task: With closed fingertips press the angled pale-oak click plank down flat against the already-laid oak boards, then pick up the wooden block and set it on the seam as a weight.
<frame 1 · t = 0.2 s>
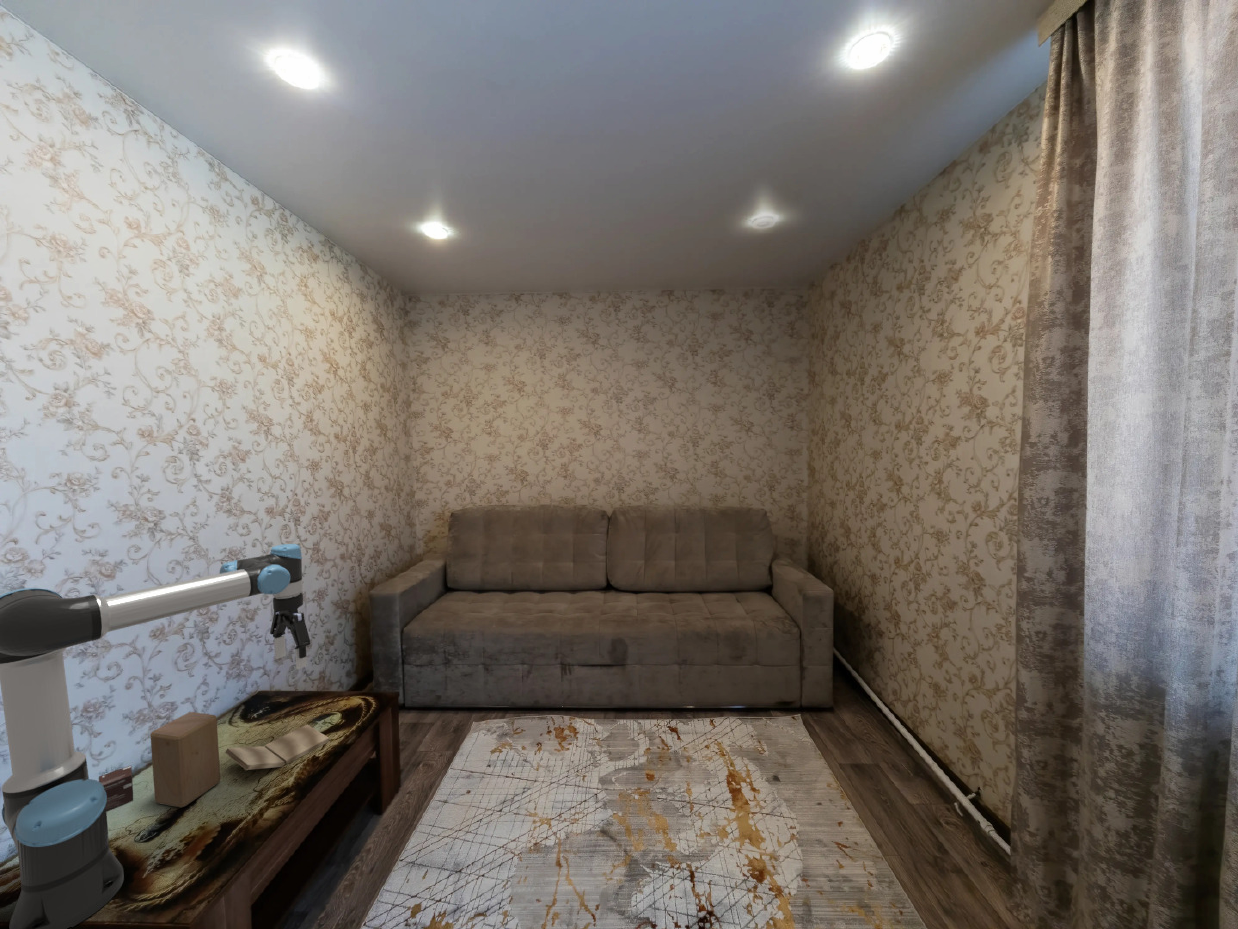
hand: (290, 662, 141), 28 cm above the table, fingers open, 13 cm apart
click plank: (255, 757, 135), point 3 cm above the table, hinge at 28.0°
laid boards: (297, 745, 145), on the table
box: (117, 802, 123), on the table
wooden block: (188, 793, 125), on the table
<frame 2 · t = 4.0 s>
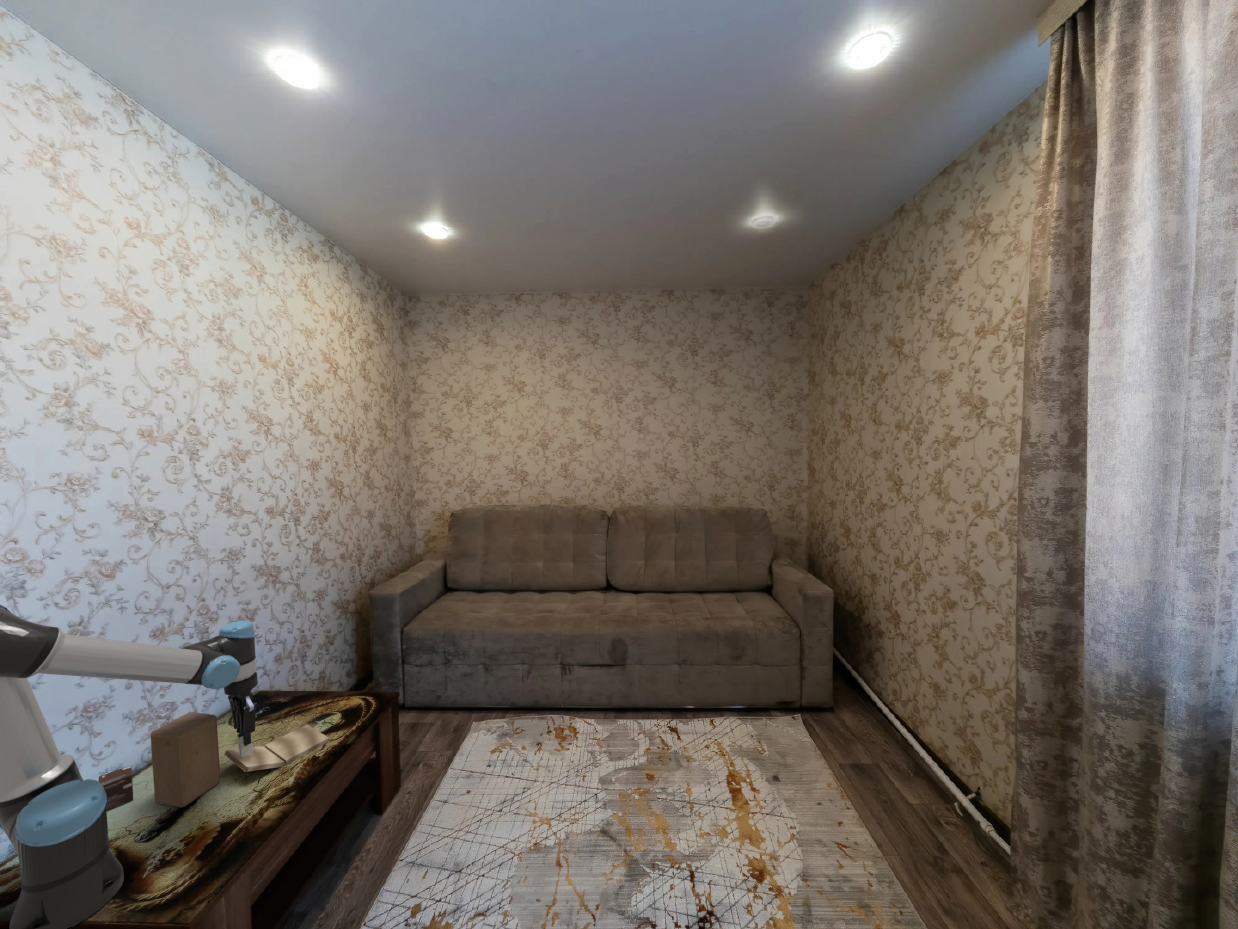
hand: (246, 754, 133), 5 cm above the table, fingers closed
click plank: (254, 758, 135), point 3 cm above the table, hinge at 25.3°, touching gripper
everything else where it was.
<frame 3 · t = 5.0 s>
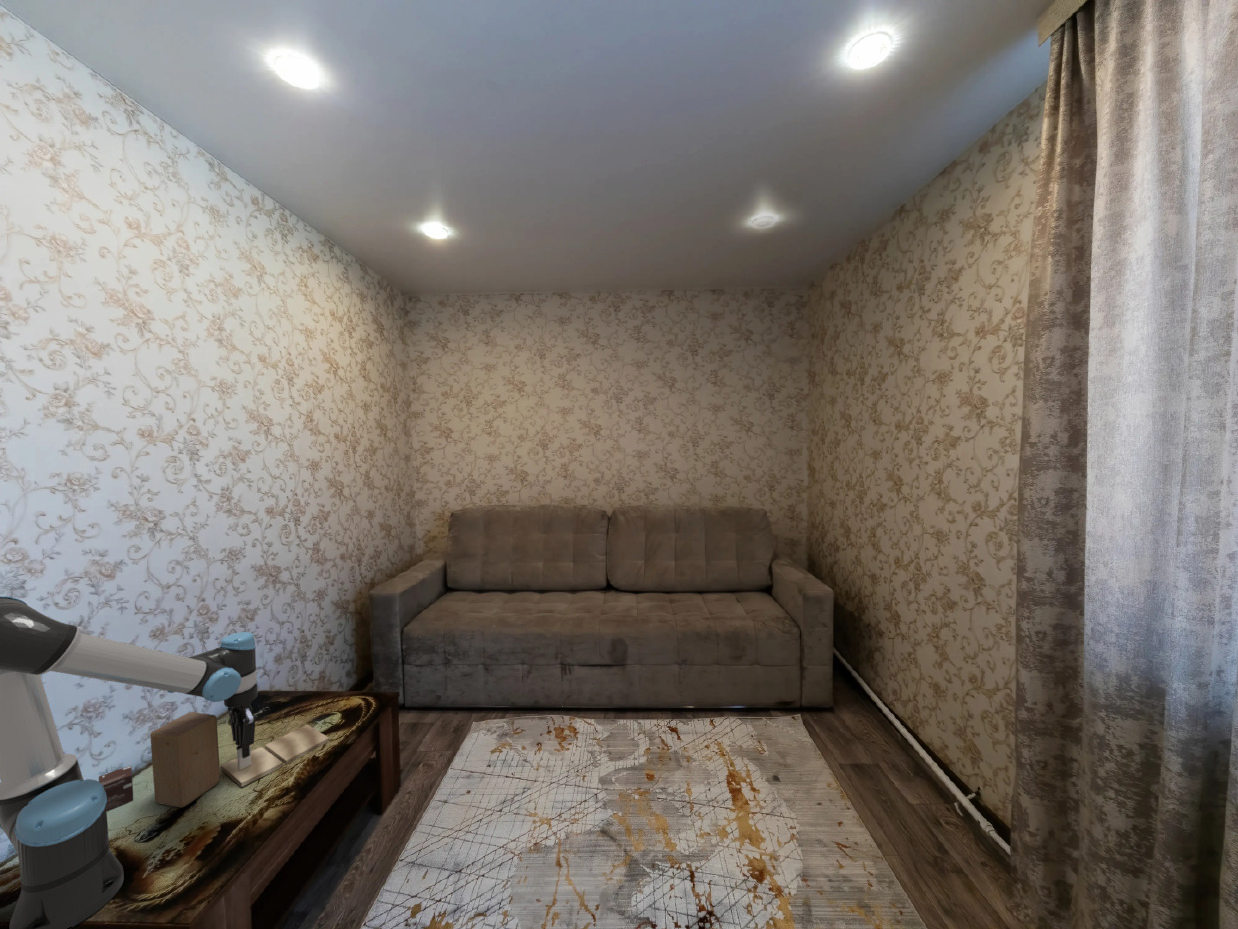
hand: (244, 766, 133), 2 cm above the table, fingers closed
click plank: (252, 765, 134), point 1 cm above the table, hinge at 2.6°, touching gripper
everything else where it was.
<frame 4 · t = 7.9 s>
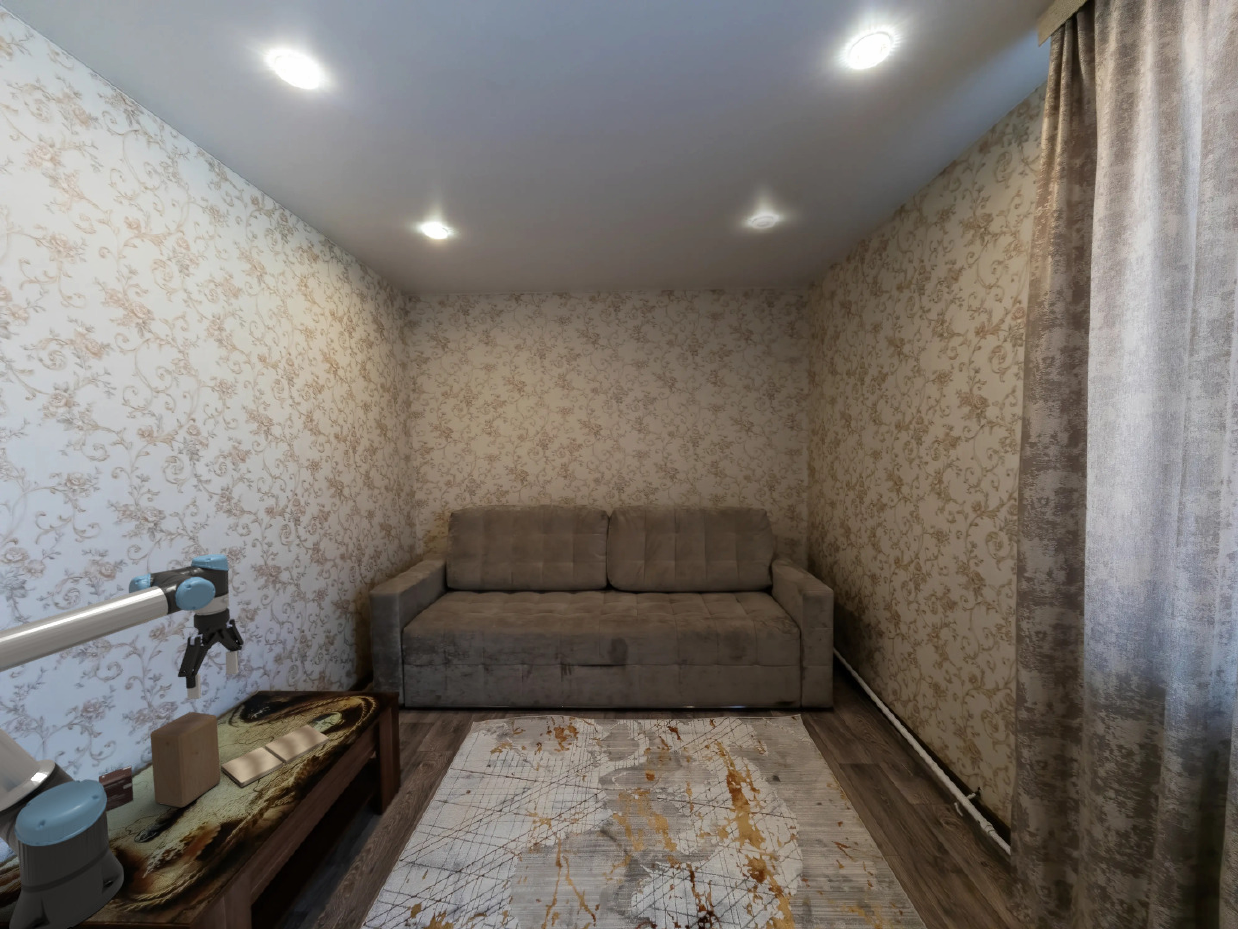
hand: (214, 685, 128), 28 cm above the table, fingers open, 13 cm apart
click plank: (252, 765, 134), point 1 cm above the table, hinge at 2.6°
everything else where it was.
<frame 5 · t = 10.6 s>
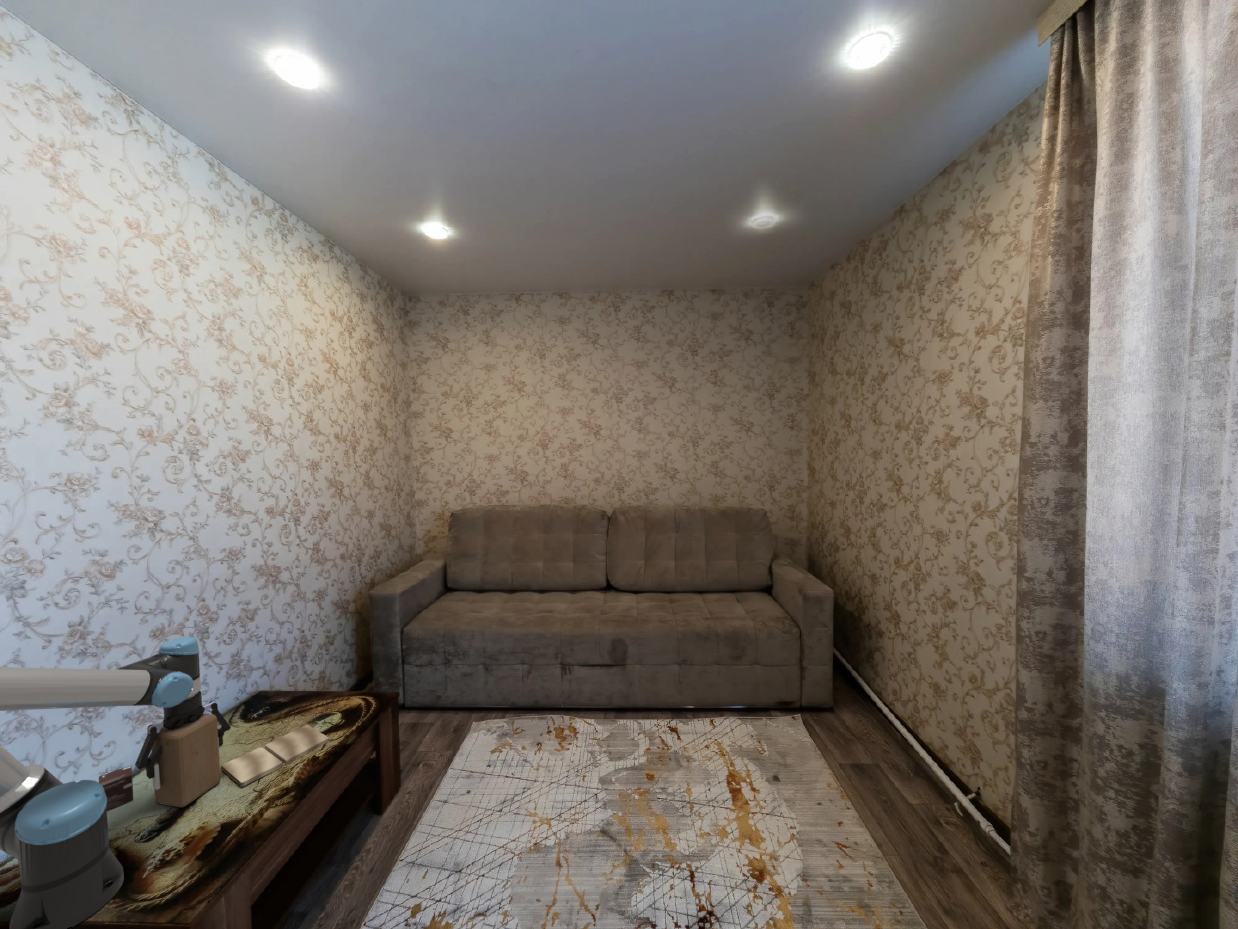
hand: (187, 772, 125), 6 cm above the table, fingers closed on wooden block, 12 cm apart
wooden block: (189, 793, 125), on the table, touching gripper
everything else where it was.
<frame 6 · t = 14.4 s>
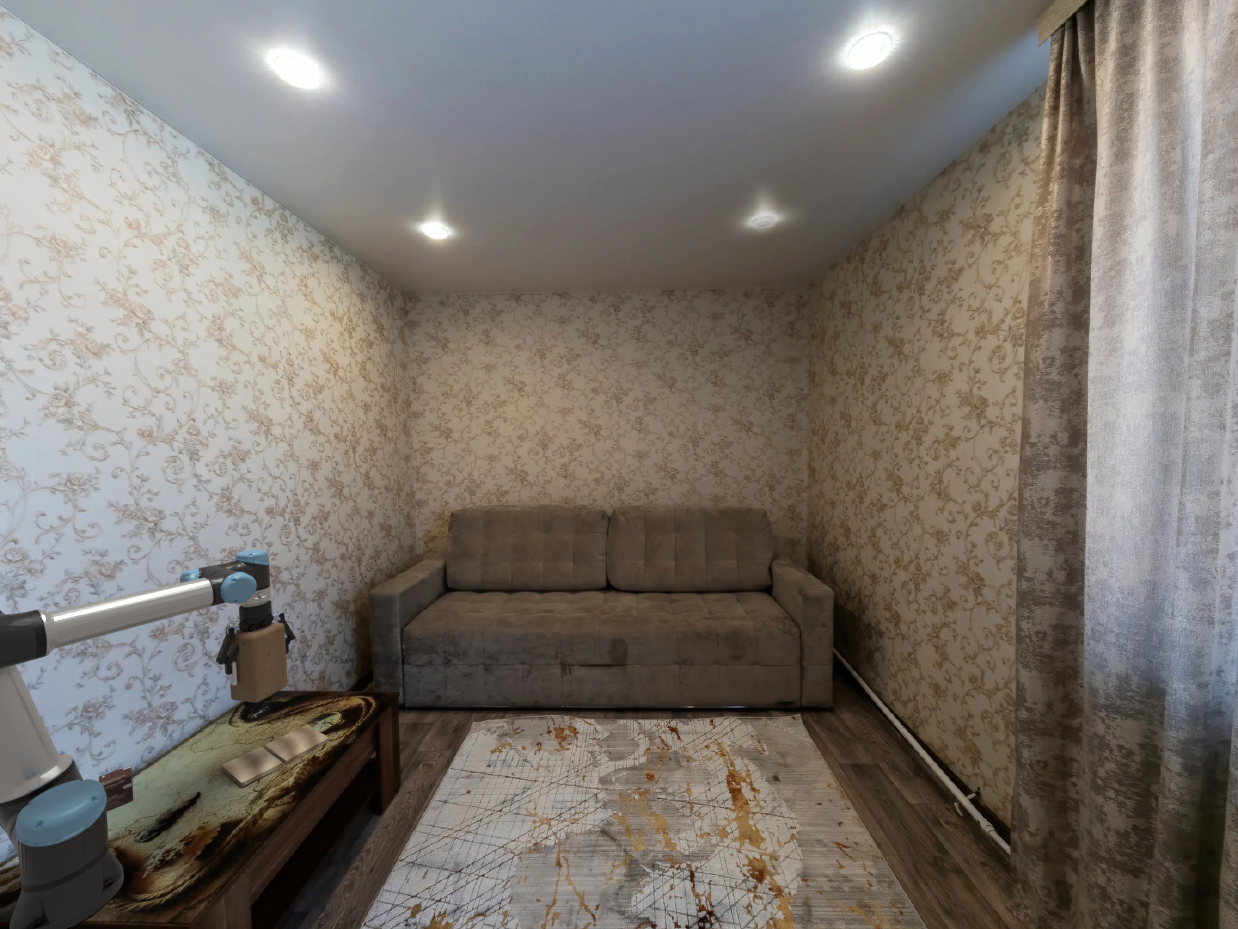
hand: (259, 674, 136), 27 cm above the table, fingers closed on wooden block, 12 cm apart
wooden block: (260, 694, 136), point 21 cm above the table, touching gripper
everything else where it was.
when the fingers open (8 cm above the table, at t = 18.3 s): wooden block drops 1 cm, resting on click plank, laid boards.
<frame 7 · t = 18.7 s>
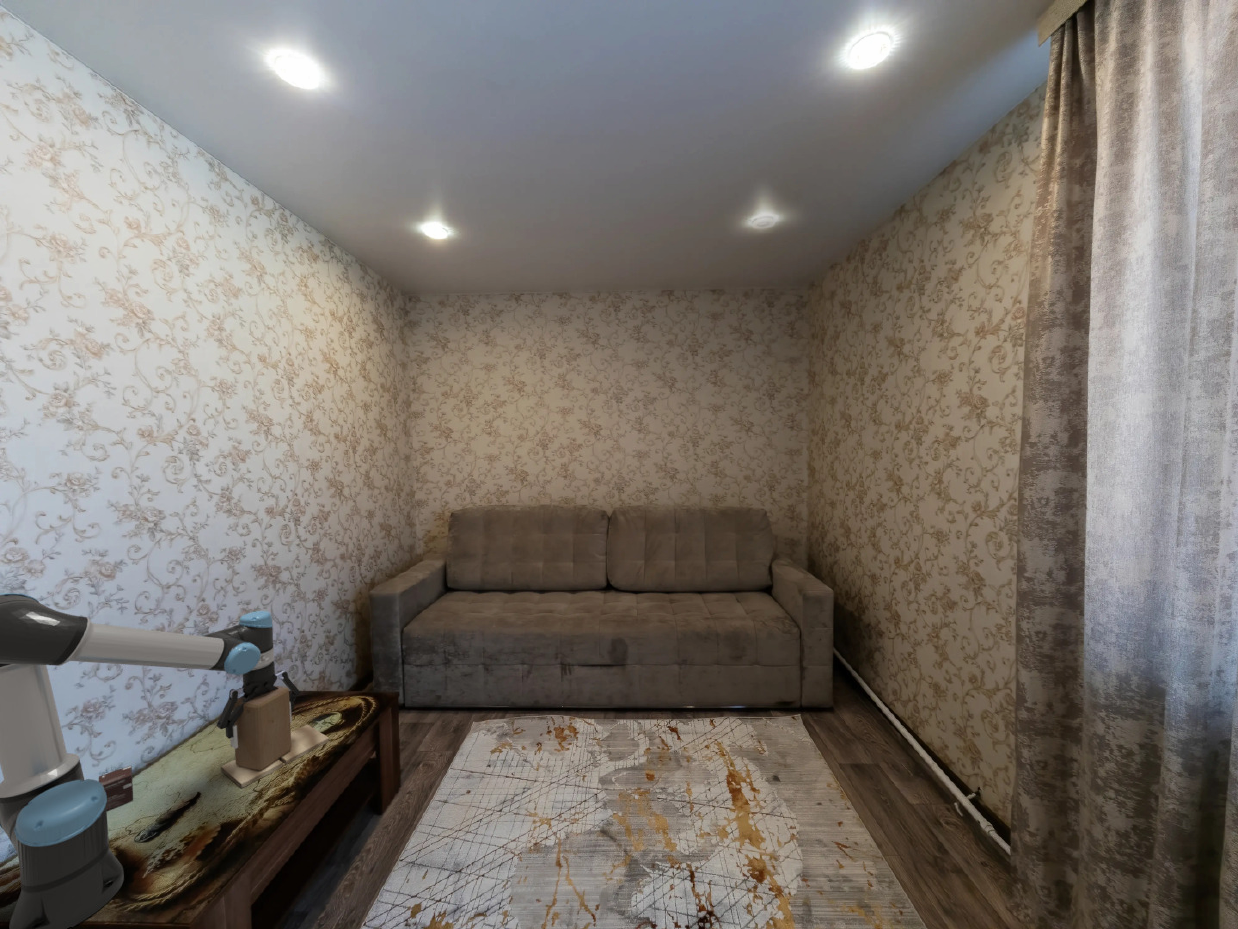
hand: (262, 733, 137), 9 cm above the table, fingers open, 13 cm apart
click plank: (252, 766, 134), point 1 cm above the table, hinge at 0.7°, touching wooden block
wooden block: (264, 758, 137), point 1 cm above the table, touching click plank, laid boards
everything else where it was.
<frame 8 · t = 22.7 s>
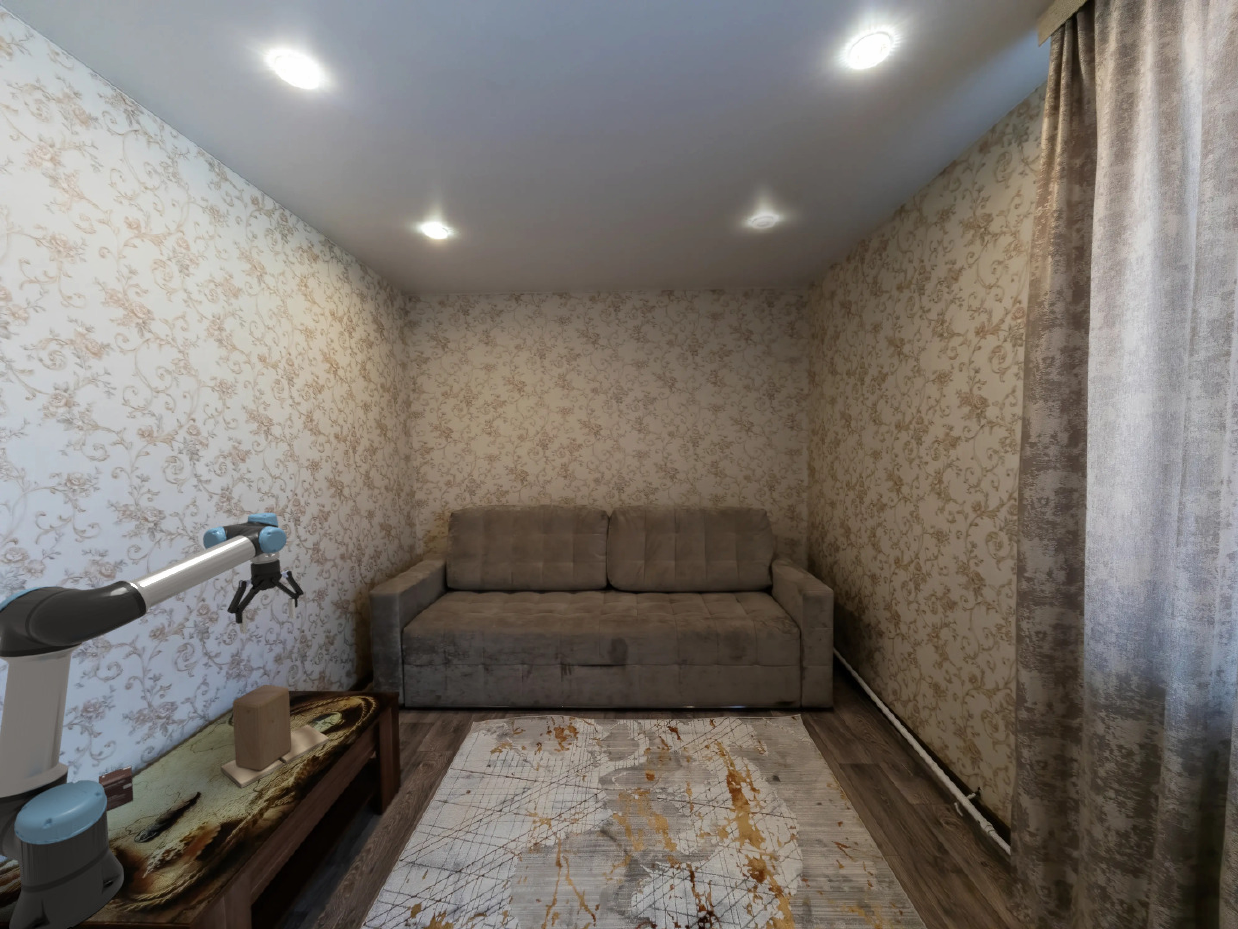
hand: (268, 625, 149), 37 cm above the table, fingers open, 13 cm apart
nothing on the table moved.
at the end: click plank at +1° (first picture: +28°); wooden block inside the target area (0.1 cm from its centre), point 1.0 cm above the table; wooden block tilted 0° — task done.
